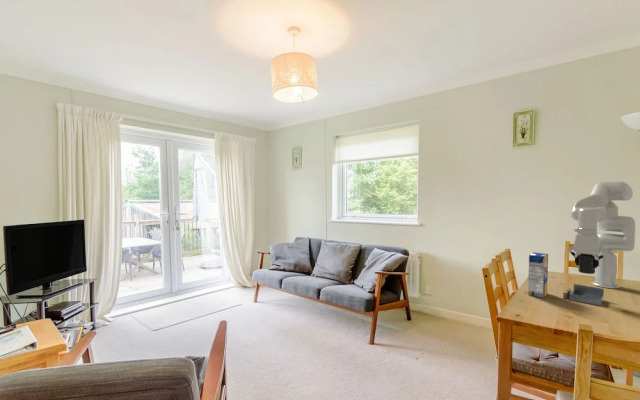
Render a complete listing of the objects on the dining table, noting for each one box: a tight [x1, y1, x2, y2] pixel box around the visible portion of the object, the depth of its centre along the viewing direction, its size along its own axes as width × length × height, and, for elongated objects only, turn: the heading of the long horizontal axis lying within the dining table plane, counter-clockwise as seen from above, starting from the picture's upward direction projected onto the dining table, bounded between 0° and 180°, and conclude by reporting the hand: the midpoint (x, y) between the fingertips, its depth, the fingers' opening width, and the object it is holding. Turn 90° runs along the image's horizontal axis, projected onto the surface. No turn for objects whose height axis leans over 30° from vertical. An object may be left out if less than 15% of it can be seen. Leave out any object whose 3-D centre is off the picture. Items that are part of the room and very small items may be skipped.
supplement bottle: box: [577, 254, 596, 275], centre depth 163 cm, size 7×7×12 cm
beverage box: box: [527, 251, 549, 299], centre depth 172 cm, size 7×11×22 cm, turn 135°
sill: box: [562, 288, 572, 300], centre depth 169 cm, size 12×1×3 cm, turn 132°
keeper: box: [568, 283, 605, 307], centre depth 163 cm, size 12×12×6 cm
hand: (586, 266), depth 163 cm, fingers closed on supplement bottle, 6 cm apart
